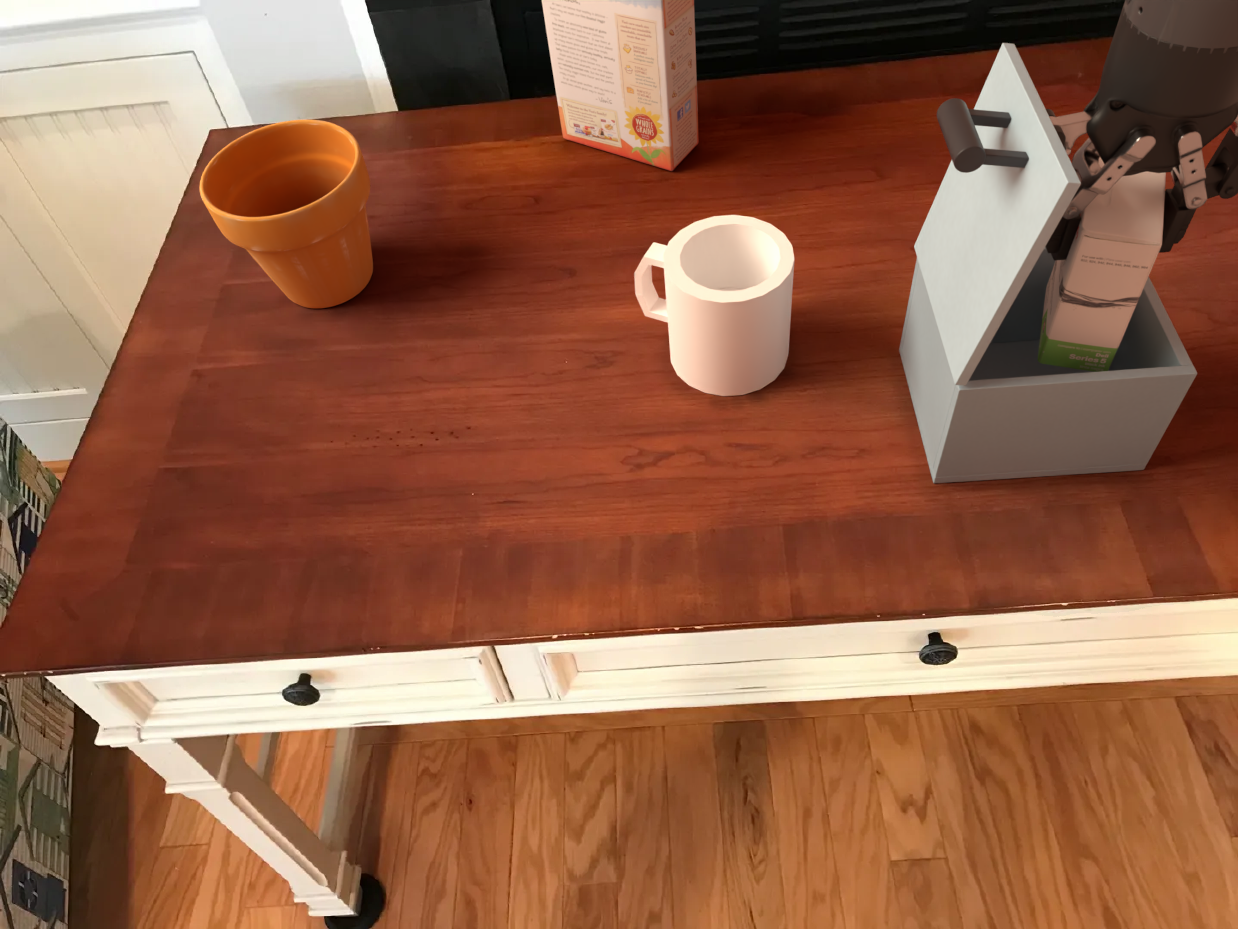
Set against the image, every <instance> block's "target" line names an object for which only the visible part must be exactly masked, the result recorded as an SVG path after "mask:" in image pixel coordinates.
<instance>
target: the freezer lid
mask: <svg viewBox="0 0 1238 929" xmlns="http://www.w3.org/2000/svg"><path fill="white" fill-rule="evenodd" d="M1035 86H1036V85H1035V84H1034V82H1033V80H1032V78H1031V76H1030V74H1029V72H1028V70H1027V67H1026V65H1025V63H1024V61H1023V58H1022V57H1021V55H1020V53H1019V51H1018V48H1017V46H1016V45H1015V43H1010V42H1009V43H1008V42H1002V43H1001V46H1000V47H999V50H998V52H997V55H996V57H995V59H994V61H993V64H992V66H991V69H990V71H989V73H988V75H987V77H986V79H985V82H984V85H983V87H982V89H981V92H980V94H979V95H978V98H977V101H976V103H975V106H974V108H968V105H967V103H966V102H965V101H964V100H963V99H961V98H958V97H957V98H956V97H955V98H954V97H953V98H949V99H947V100H945V101H944V102H942V103H941V104H940V105H939V107H938V108H937V111H936V119H937V122H938V125H939V127H940V130H941V134H942V136H943V139H944V142H945V144H946V147H947V150H948V153H949V155H950V158H951V160H950V162H949V164H948V167H947V169H946V171H945V174H944V177H943V179H942V181H941V183H940V186H939V188H938V190H937V192H936V194H935V196H934V199H933V202H932V204H931V207H930V208H929V211H928V213H927V215H926V217H925V220H924V222H923V225H922V226H921V229H920V232H919V234H918V236H917V239H916V241H915V243H914V246H913V248H914V251H915V255H916V259H917V258H918V262H919V265H920V269H921V272H922V275H923V279H924V282H925V285H926V289H927V292H928V296H929V299H930V302H931V306H932V309H933V313H934V316H935V319H936V323H937V326H938V329H939V333H940V336H941V340H942V343H943V346H944V350H945V353H946V356H947V360H948V363H949V367H950V370H951V373H952V377H953V380H954V383H955V385H966V384H967V383H968V381H969V379H970V377H971V376H972V374H973V372H974V370H975V369H976V367H977V365H978V363H979V362H980V360H981V358H982V356H983V355H984V353H985V351H986V349H987V348H988V346H989V344H990V342H991V341H992V339H993V337H994V335H995V334H996V332H997V330H998V328H999V327H1000V325H1001V323H1002V321H1003V320H1004V318H1005V316H1006V314H1007V313H1008V311H1009V309H1010V307H1011V306H1012V304H1013V302H1014V300H1015V299H1016V297H1017V295H1018V293H1019V292H1020V290H1021V288H1022V286H1023V285H1024V283H1025V281H1026V279H1027V278H1028V276H1029V274H1030V272H1031V271H1032V269H1033V267H1034V265H1035V264H1036V262H1037V260H1038V258H1039V257H1040V255H1041V253H1042V251H1043V250H1044V248H1045V246H1046V244H1047V243H1048V241H1049V239H1050V237H1051V236H1052V234H1053V232H1054V230H1055V229H1056V227H1057V225H1058V223H1059V222H1060V220H1061V218H1062V216H1063V215H1064V213H1065V211H1066V209H1067V208H1068V206H1069V204H1070V202H1071V201H1072V199H1073V197H1074V195H1075V194H1076V192H1077V190H1078V188H1079V187H1080V185H1081V182H1080V180H1079V178H1078V176H1077V173H1076V171H1075V169H1074V167H1073V165H1072V160H1071V159H1070V157H1069V155H1067V153H1066V151H1065V148H1064V146H1063V144H1062V142H1061V140H1060V138H1059V136H1058V134H1057V132H1056V130H1055V128H1054V126H1053V124H1052V121H1051V119H1050V117H1049V115H1048V113H1047V111H1046V109H1047V108H1046V107H1045V105H1044V102H1043V100H1042V99H1041V96H1040V94H1039V93H1038V90H1037V88H1036V87H1035Z"/></svg>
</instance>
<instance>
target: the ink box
mask: <svg viewBox="0 0 1238 929" xmlns="http://www.w3.org/2000/svg"><path fill="white" fill-rule="evenodd" d="M1099 165H1100V167H1101V168H1102V167H1103V166H1104V165H1105V164H1104V163H1103V161H1102V159H1101V157H1100V158H1099ZM1166 178H1167V172H1166V173H1154V172H1147V171H1146V172H1142V173H1138V174H1135V175H1130V176H1122V177H1121V178H1120V179H1119V180H1118V181H1117V183H1116V184H1115V185H1114V186H1113V187H1112V188H1111V189H1110V190H1109V191H1108V192H1107V193H1106V194H1104V195H1101V194H1099V195H1097V196H1096V197H1095V198H1094V199H1093V200H1092V202H1091V203H1090V204H1089V205H1088V206H1087V207H1086V208H1085V209H1084V210H1083V211H1082V212H1081V213H1080V217H1081V221H1080V223H1079V226H1078V229H1077V232H1076V235H1075V238H1074V240H1073V243H1072V245H1071V248H1070V251H1069V253H1068V256H1067V259H1066V260H1056V261H1055V264H1054V267H1053V270H1052V273H1051V276H1050V278H1049V281H1048V284H1047V287H1046V293H1045V301H1044V310H1043V317H1042V325H1041V334H1040V342H1039V351H1038V362H1040V363H1042V364H1047V365H1054V366H1060V367H1067V368H1073V369H1079V370H1086V371H1092V372H1100V371H1108V370H1109V368H1110V365H1111V363H1112V361H1113V358H1114V356H1115V354H1116V351H1117V349H1118V347H1119V345H1120V343H1121V340H1122V338H1123V336H1124V333H1125V331H1126V328H1127V326H1128V323H1129V321H1130V319H1131V316H1132V314H1133V312H1134V309H1135V307H1136V305H1137V303H1138V300H1139V298H1140V295H1141V293H1142V291H1143V288H1144V286H1145V284H1146V281H1147V279H1148V277H1149V278H1150V274H1151V272H1152V269H1153V267H1154V265H1155V263H1156V260H1157V257H1158V255H1159V251H1160V248H1161V246H1162V235H1163V218H1164V200H1165V190H1166Z"/></svg>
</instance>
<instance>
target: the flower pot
mask: <svg viewBox="0 0 1238 929" xmlns="http://www.w3.org/2000/svg"><path fill="white" fill-rule="evenodd" d="M198 190H199V194H200V197H201V201H202V202H203V204H204V206H205V207H206V209H207V211H208V213H209V214H210V216H211V218H212V220H213V222H214V223H215V225H216V226H217V228H218V229H219V231H220V232H221V234H222V236H224V238H225V239H226V240H228V241H229V242H230V243H231V244H233V245H234V246H237V247H239V248H242V249H243V250H245V251H246V252H248V254H249V255H250V256H251V257H252V259H253V260H254V261H255V263H257V265H258V266H259V267H260V268H261V269H262V270H263V271H264V273H265V274H266V275H267V276H268V277H269V279H271V281H273V283H274V284H275V285H276V286H277V288H279V290H280V291H281V292H282V293H283V294H284V295H285V296H286V297H287V298H288V300H290V301H291V302H292V303H294V304H296V305H298V306H301V307H303V308H307V309H325V308H331V307H335V306H338V305H341V304H343V303H346V302H348V301H349V300H352V299H353V298H354V297H356V296H358V295H359V294H360V293H361V292H362V291H363V290H364V289H365V288H366V287H367V285H368V284H369V282H370V281H371V279H372V275H373V272H374V261H373V252H372V242H371V234H370V226H369V218H368V212H367V205H366V204H367V202H368V200H369V198H370V193H371V178H370V175H369V171H368V169H367V164H366V160H365V158H364V155H363V152H362V150H361V147H360V144H359V142H358V140H357V138H356V137H355V136H354V135H353V134H352V133H351V132H350V131H348V130H347V129H346V128H344V127H342V126H340V125H338V124H335V123H333V122H330V121H325V120H319V119H292V120H285V121H279V122H276V123H271V124H268V125H265V126H261V127H259V128H257V129H254V130H251V131H249V132H246V133H245V134H243V135H242V136H239V137H237V138H236V139H235V140H232V141H231V142H230V143H228V144H227V145H226V146H225V147H223V148H221V149H220V151H218V152H217V153H216V154H215V155H214V156H213V157H212V158H211V159H210V161H209V162H208V164H207V165H206V166H205V167H204V170H203V171H202V174H201V176H200V181H199V189H198Z"/></svg>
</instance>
